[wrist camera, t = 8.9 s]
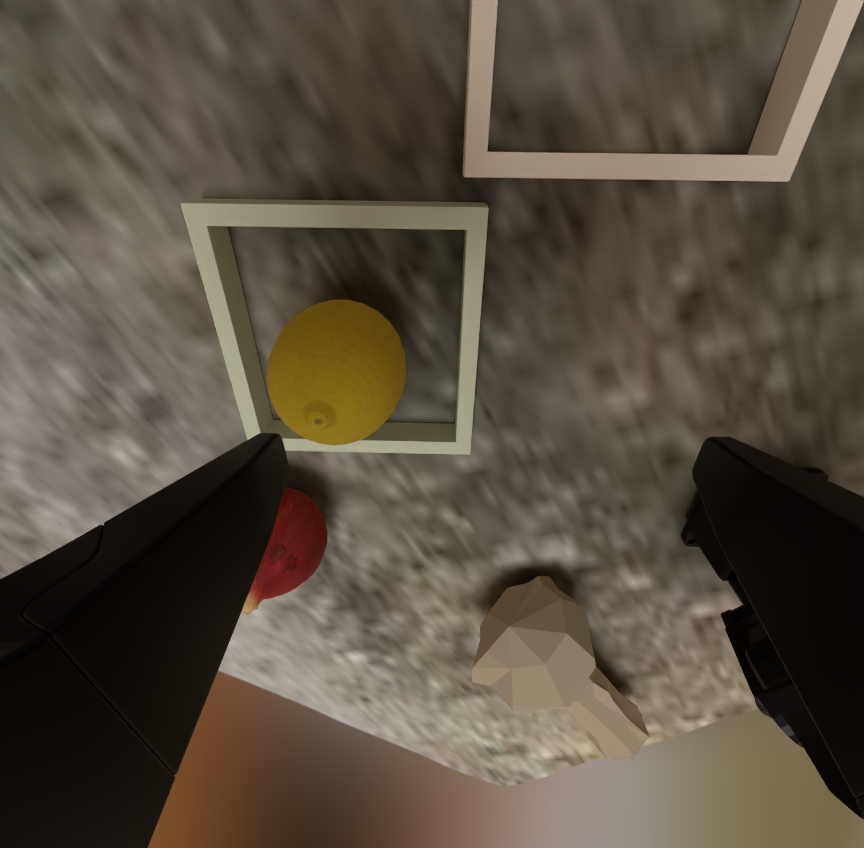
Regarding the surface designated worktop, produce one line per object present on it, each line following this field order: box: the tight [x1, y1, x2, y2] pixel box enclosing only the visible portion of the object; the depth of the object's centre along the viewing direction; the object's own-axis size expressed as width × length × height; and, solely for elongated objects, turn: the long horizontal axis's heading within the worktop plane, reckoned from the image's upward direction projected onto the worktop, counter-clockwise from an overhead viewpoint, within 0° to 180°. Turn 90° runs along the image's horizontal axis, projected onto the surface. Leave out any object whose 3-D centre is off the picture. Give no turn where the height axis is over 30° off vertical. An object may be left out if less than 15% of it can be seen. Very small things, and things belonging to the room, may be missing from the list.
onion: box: [242, 487, 327, 614], centre depth 24 cm, size 6×6×8 cm
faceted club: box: [472, 576, 650, 759], centre depth 34 cm, size 9×8×25 cm
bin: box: [180, 198, 489, 455], centre depth 20 cm, size 12×12×2 cm
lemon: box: [267, 299, 407, 445], centre depth 18 cm, size 6×6×8 cm
